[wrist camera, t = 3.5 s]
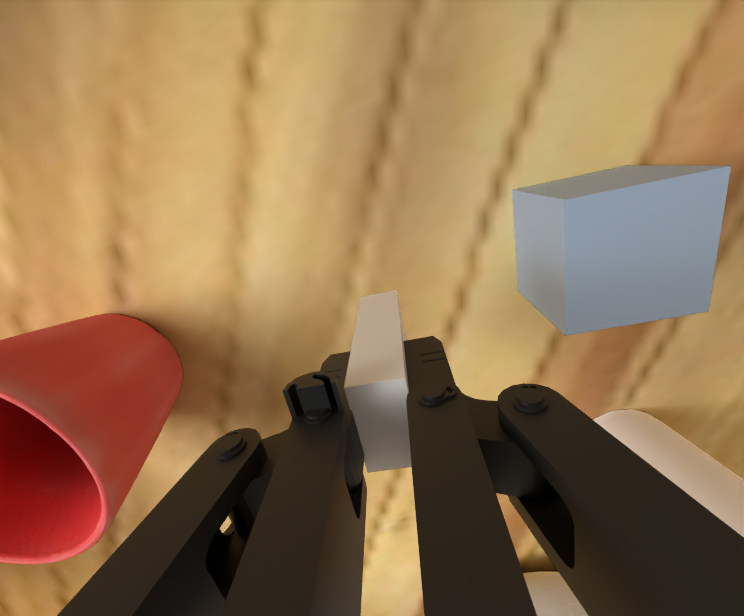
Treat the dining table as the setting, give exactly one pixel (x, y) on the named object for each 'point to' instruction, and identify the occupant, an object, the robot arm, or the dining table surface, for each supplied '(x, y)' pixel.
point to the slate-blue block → (620, 244)
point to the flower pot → (77, 429)
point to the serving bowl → (552, 595)
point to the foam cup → (680, 463)
